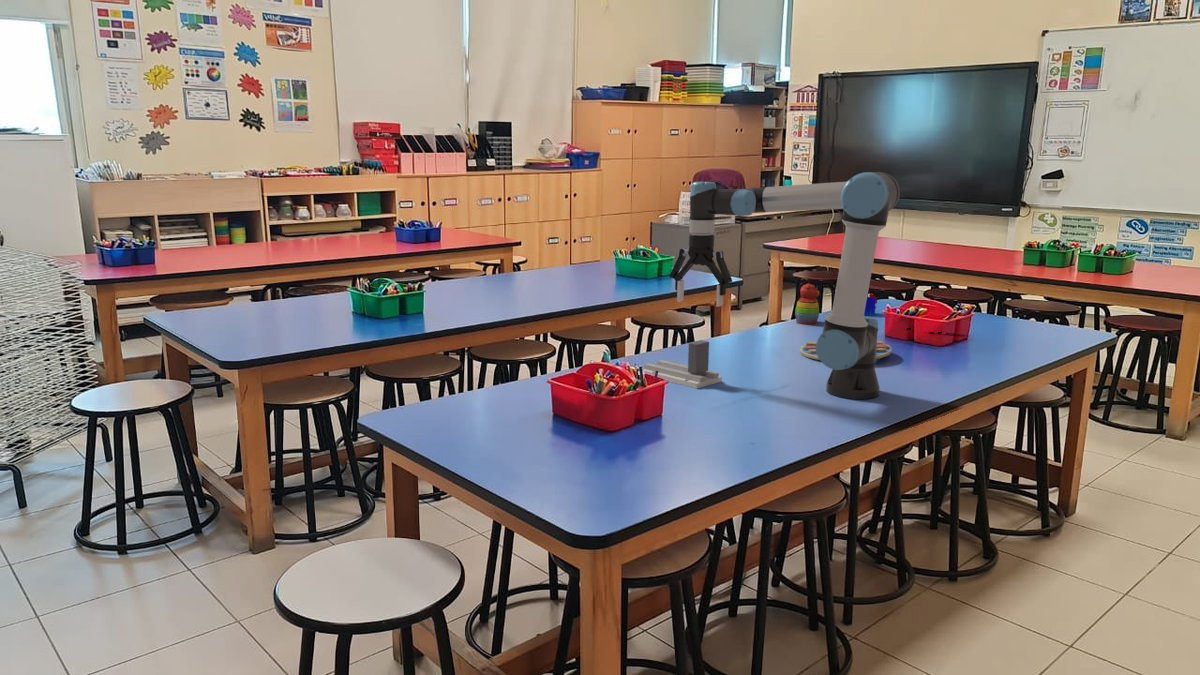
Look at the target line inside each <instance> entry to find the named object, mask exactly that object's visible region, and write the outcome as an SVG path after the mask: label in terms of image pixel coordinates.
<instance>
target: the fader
mask: <svg viewBox="0 0 1200 675" xmlns="http://www.w3.org/2000/svg"><path fill="white" fill-rule="evenodd" d="M709 356H710V341H706V340H698V341H696V340H695V341H692V342H688V357H687V358H688V360H687V366H688V372H689V373H693V374H697V375H701V376H705V371H709V362H710V361H709V358H710V357H709Z"/></svg>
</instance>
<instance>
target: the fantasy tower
mask: <svg viewBox="0 0 1200 675" xmlns="http://www.w3.org/2000/svg"><path fill="white" fill-rule="evenodd" d="M876 304H878V299H877V296H875V294H874V293H872V292H870V293H869V294H868V296H867V301H866V306H865V312H864V317H874V316H875V315H876V314H875V313H876V308H877V306H876Z"/></svg>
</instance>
